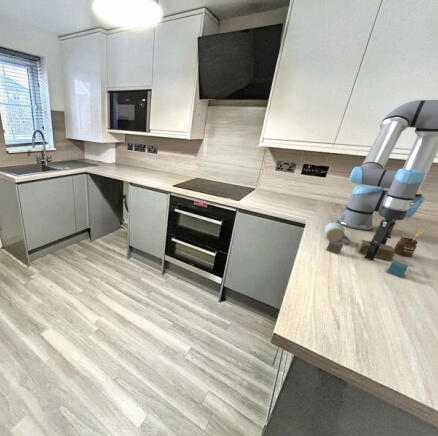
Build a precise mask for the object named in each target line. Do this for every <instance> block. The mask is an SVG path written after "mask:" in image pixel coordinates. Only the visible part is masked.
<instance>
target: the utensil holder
mask: <svg viewBox="0 0 438 436" xmlns="http://www.w3.org/2000/svg"><path fill="white" fill-rule="evenodd" d="M424 231H425V230H424V229H421V228H420V229H419V230H418V231H417V232H416V233H415V237H414V238H412V237H408V235H406V236H405V234H406V233H408V230H405V232H403V234H402V235H403V236H402V237H400V238H399V240H398V241H397V242H396V244H395V246H394V247H393V248H394V250H395V253H394V254H397V255H399V256H403V257H412V256H413V255H414V253H415V251H416V249H417V245H418V240H416V239H417V238H419V237H421V235H422V234H423V232H424ZM409 234H410V235H412V232H411V231H409Z"/></svg>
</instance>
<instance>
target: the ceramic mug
mask: <svg viewBox="0 0 438 436" xmlns="http://www.w3.org/2000/svg"><path fill="white" fill-rule="evenodd" d="M324 235H325V237H326V239H327V240H329V242H330V241H332V240H334V241H337V242H340V241H341V242H342V243H343V244H350V243H351V242H352V240H351V239H350V237H348V236H347V235H346V234H345V226H344V225H341V224H340V223H338V222H336V221H335V222H330V223H329V222H328V224H326V225H325V226H324Z"/></svg>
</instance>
